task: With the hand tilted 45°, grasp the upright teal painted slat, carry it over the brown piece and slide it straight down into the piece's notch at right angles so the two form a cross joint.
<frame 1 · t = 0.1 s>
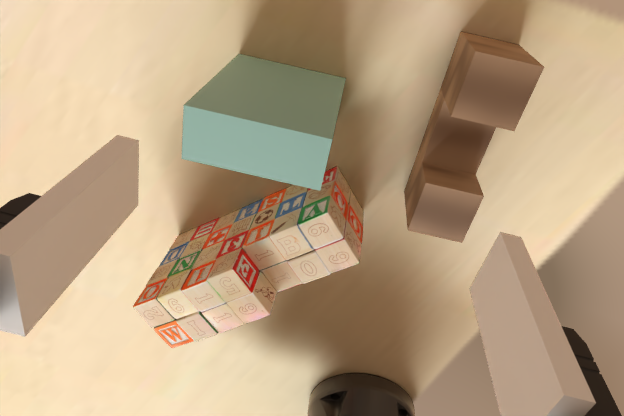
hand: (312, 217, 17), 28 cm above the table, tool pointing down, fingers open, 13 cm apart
brown piece: (455, 125, 43), on the table
stack of blocks: (267, 222, 52), on the table
slat: (288, 87, 43), on the table
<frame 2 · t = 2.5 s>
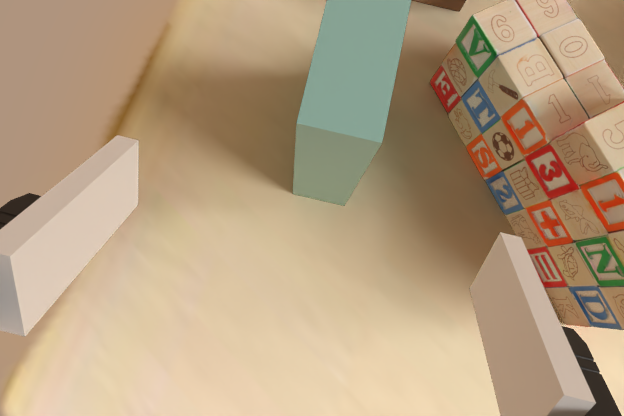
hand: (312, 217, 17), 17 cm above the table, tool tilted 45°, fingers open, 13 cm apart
stack of blocks: (524, 183, 36), on the table
slat: (332, 138, 36), on the table
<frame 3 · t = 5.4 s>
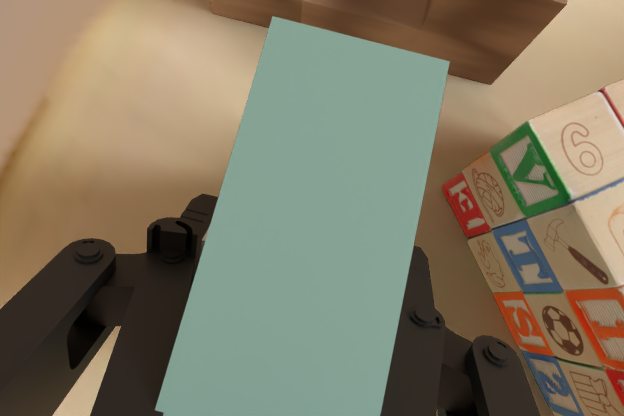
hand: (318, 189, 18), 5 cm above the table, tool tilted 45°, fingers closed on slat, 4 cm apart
brown piece: (361, 10, 26), on the table
stack of blocks: (581, 353, 23), on the table
slat: (292, 287, 23), on the table, touching gripper
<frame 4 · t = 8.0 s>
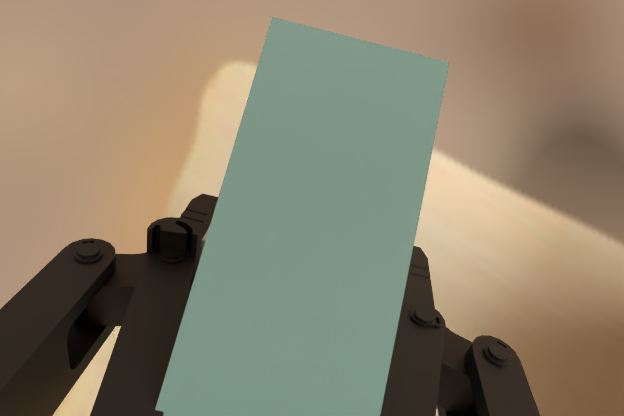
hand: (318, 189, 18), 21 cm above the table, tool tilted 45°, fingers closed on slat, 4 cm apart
slat: (292, 288, 23), point 16 cm above the table, touching gripper
when the fingers open (10 cm above the table, at t = 10.4 s): slat drops 1 cm, resting on brown piece.
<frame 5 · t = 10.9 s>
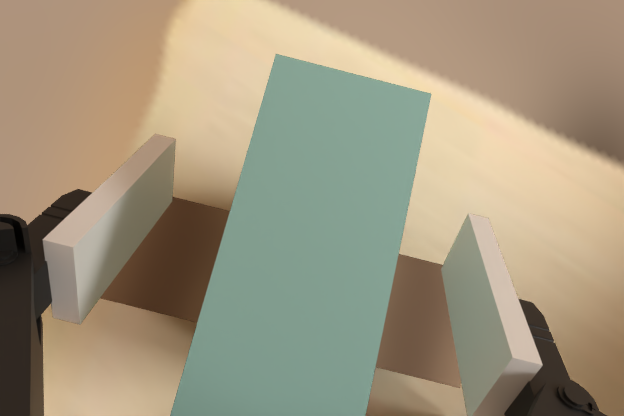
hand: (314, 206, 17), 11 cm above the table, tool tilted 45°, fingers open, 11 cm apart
brown piece: (290, 290, 27), on the table
slat: (292, 289, 24), point 3 cm above the table, touching brown piece
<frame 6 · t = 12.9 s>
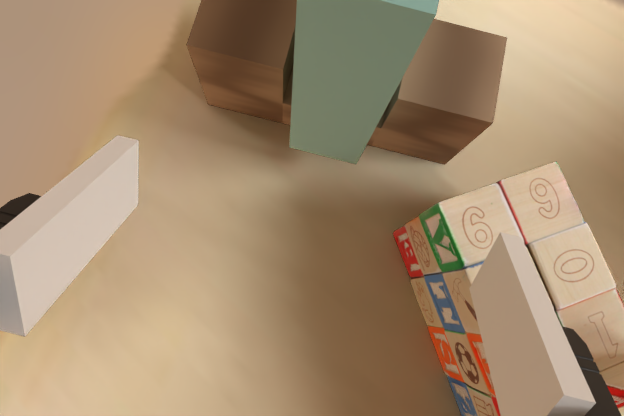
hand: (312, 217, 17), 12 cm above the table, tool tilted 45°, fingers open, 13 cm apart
brown piece: (335, 100, 31), on the table
stack of blocks: (497, 381, 28), on the table
slat: (341, 79, 28), point 3 cm above the table, touching brown piece
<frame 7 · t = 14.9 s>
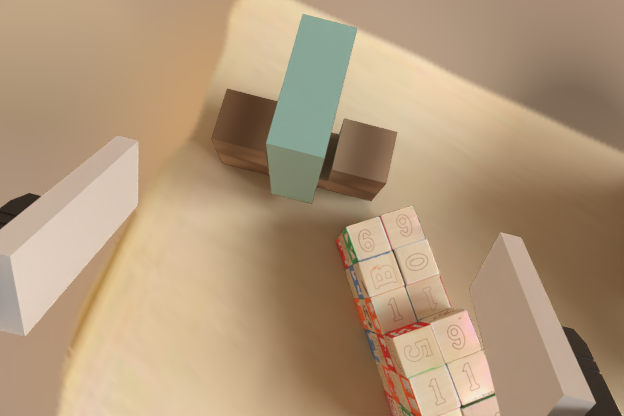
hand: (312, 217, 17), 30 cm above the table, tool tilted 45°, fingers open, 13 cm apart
brown piece: (302, 159, 48), on the table
stack of blocks: (396, 333, 45), on the table
slat: (304, 150, 45), point 3 cm above the table, touching brown piece
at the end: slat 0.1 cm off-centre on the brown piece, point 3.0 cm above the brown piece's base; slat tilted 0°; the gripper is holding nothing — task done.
